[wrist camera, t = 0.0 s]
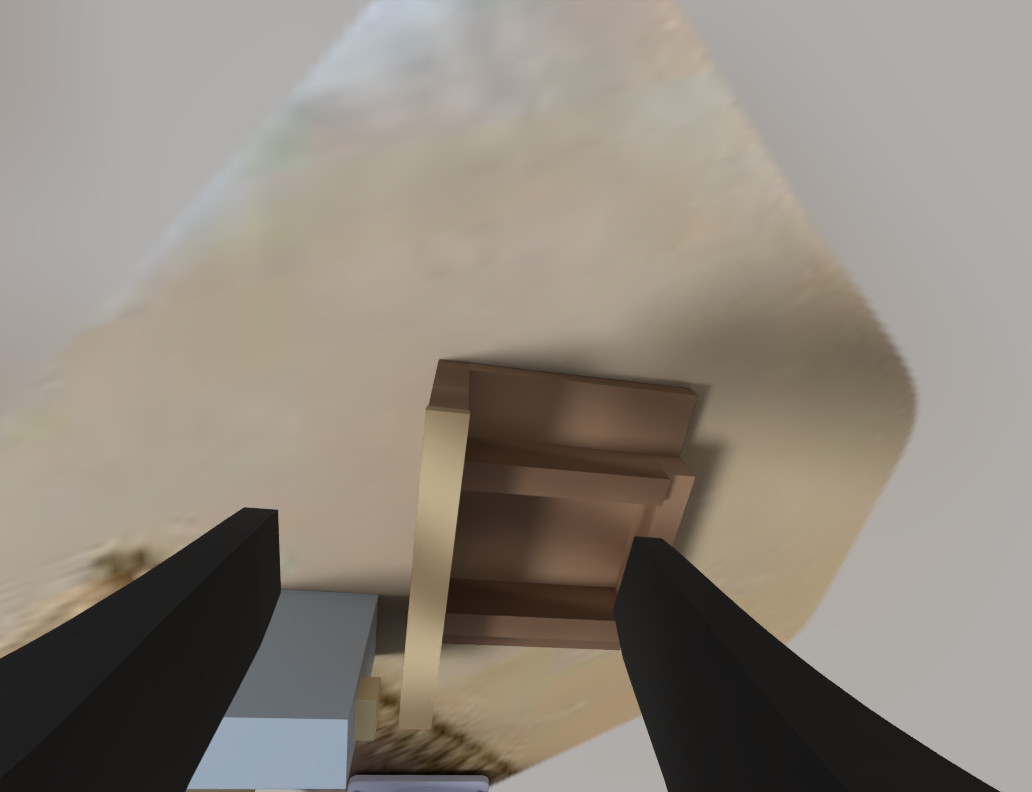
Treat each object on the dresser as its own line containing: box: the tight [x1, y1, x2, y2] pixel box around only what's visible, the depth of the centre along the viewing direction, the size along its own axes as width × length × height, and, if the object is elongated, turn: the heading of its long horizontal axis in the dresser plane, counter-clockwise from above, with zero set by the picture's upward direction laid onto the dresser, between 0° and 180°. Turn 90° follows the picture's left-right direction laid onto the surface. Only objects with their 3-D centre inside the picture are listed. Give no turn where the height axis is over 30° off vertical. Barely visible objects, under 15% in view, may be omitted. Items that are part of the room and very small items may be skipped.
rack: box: [398, 360, 698, 730], centre depth 19 cm, size 14×10×5 cm
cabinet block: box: [187, 589, 381, 789], centre depth 20 cm, size 4×7×6 cm, turn 81°
